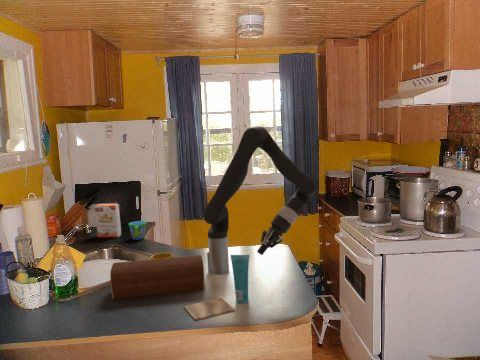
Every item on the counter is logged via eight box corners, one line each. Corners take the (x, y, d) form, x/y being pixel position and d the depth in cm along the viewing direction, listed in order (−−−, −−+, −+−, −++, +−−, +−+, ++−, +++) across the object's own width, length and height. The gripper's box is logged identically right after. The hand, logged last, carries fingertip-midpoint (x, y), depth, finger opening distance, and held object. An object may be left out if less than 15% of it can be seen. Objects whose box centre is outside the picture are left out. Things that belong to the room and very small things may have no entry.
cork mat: (195, 320, 166) (195, 319, 166) (183, 307, 178) (183, 306, 178) (234, 310, 173) (234, 309, 173) (221, 299, 185) (221, 297, 185)
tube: (251, 298, 184) (249, 252, 181) (251, 303, 179) (249, 256, 176) (232, 299, 184) (230, 253, 181) (232, 304, 179) (230, 257, 177)
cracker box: (97, 237, 291) (94, 205, 288) (101, 235, 297) (98, 203, 294) (117, 237, 288) (114, 205, 285) (121, 235, 294) (119, 203, 291)
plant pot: (151, 273, 219) (149, 254, 217) (172, 270, 222) (171, 251, 220) (154, 280, 209) (152, 260, 208) (176, 277, 212) (174, 257, 211)
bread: (115, 287, 203) (113, 259, 201) (202, 279, 209) (201, 251, 207) (111, 301, 188) (108, 270, 186) (205, 292, 193) (203, 261, 192)
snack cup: (132, 235, 292) (131, 220, 290) (149, 234, 292) (147, 219, 290) (127, 242, 276) (125, 226, 275) (144, 241, 276) (143, 225, 275)
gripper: (270, 211, 191) (245, 244, 187) (287, 216, 179) (261, 252, 175) (281, 221, 194) (257, 254, 190) (298, 228, 182) (273, 263, 178)
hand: (259, 253), depth 183 cm, fingers closed
